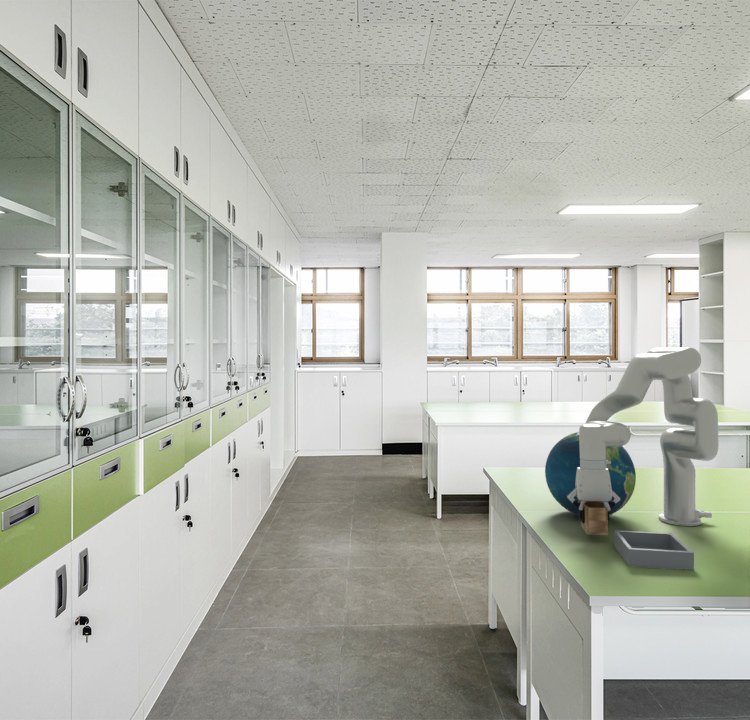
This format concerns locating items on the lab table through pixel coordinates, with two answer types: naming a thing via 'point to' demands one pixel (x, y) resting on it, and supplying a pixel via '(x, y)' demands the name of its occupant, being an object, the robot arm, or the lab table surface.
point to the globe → (568, 459)
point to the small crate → (595, 518)
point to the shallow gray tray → (653, 550)
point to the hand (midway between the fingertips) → (594, 521)
